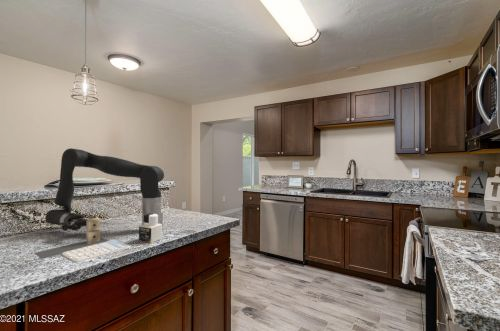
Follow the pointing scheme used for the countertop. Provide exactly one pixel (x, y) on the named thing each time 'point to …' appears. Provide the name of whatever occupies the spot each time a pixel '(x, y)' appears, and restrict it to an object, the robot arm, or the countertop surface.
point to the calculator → (94, 250)
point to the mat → (66, 248)
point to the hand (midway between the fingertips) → (87, 226)
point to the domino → (93, 230)
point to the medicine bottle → (150, 229)
